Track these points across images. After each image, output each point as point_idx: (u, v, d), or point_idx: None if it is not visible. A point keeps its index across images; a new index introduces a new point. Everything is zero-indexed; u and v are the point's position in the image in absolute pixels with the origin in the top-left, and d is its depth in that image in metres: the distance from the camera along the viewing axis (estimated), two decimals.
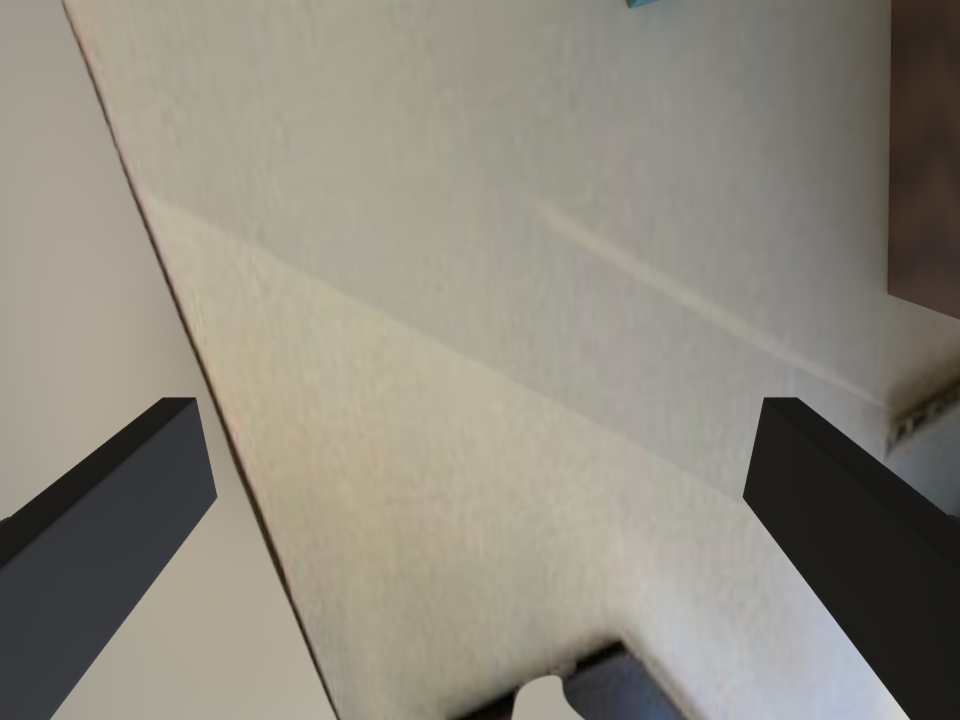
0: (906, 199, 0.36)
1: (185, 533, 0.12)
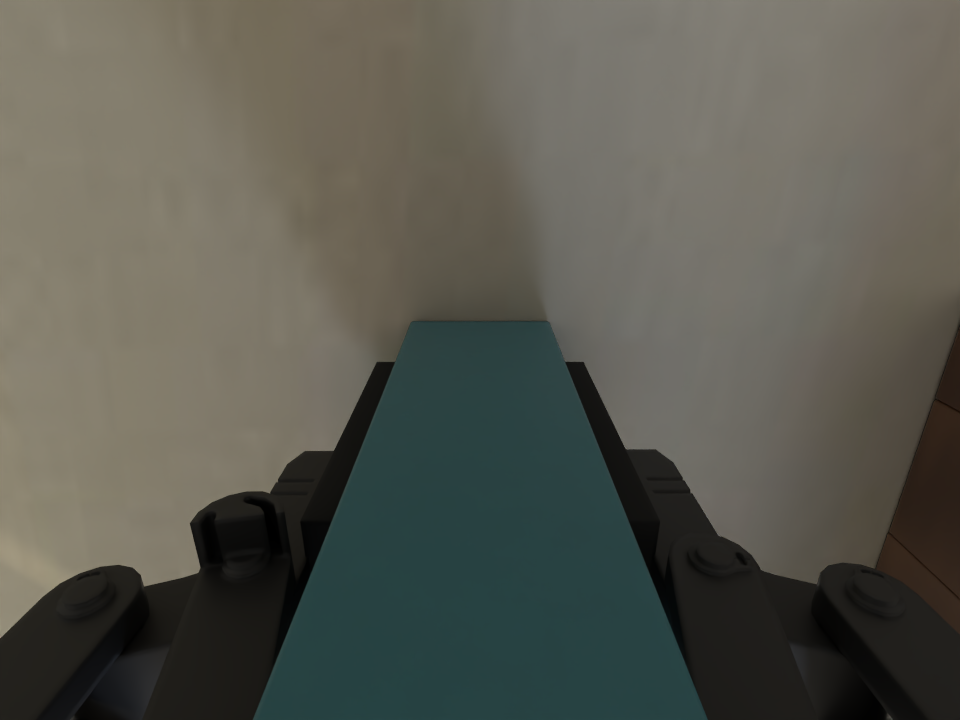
0: None
1: None
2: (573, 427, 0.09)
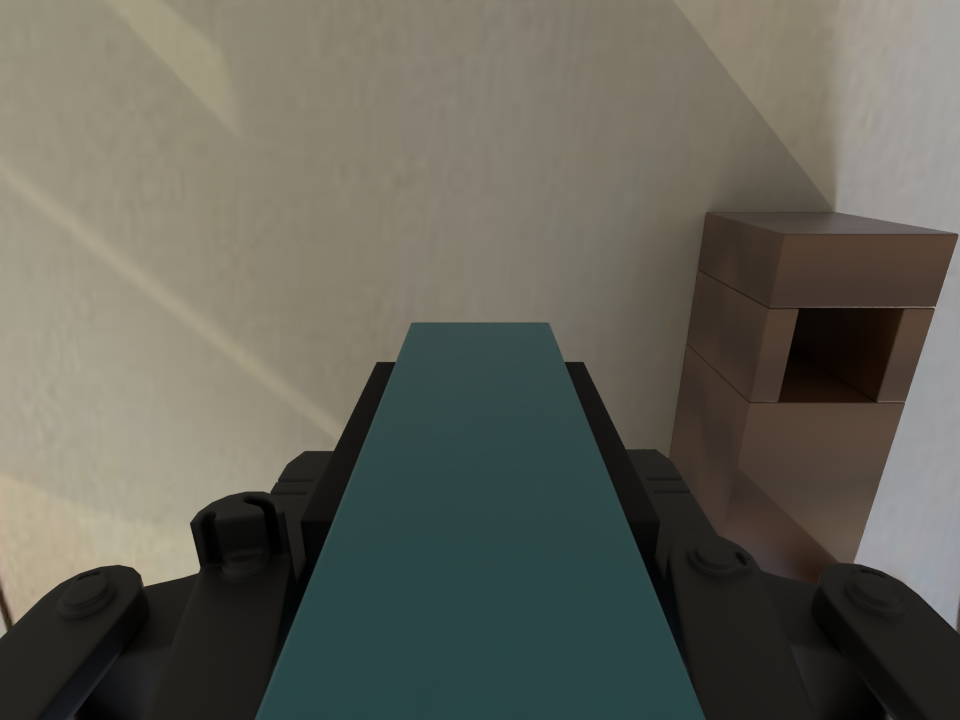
0: None
1: None
2: (573, 429, 0.10)
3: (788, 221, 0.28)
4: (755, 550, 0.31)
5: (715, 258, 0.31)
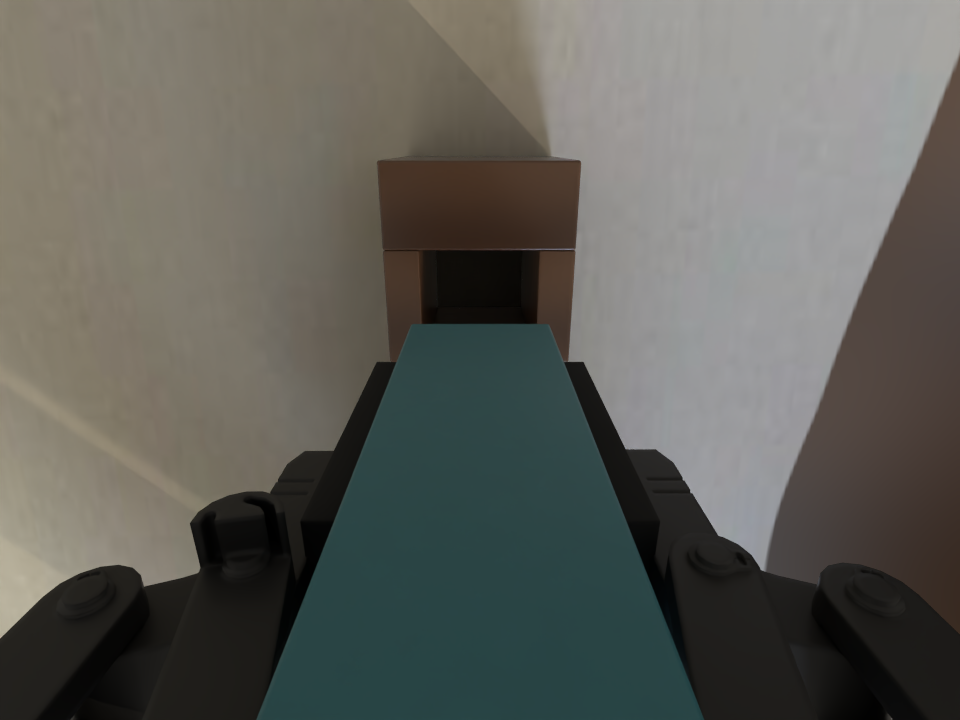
0: None
1: None
2: (573, 431, 0.10)
3: None
4: None
5: None
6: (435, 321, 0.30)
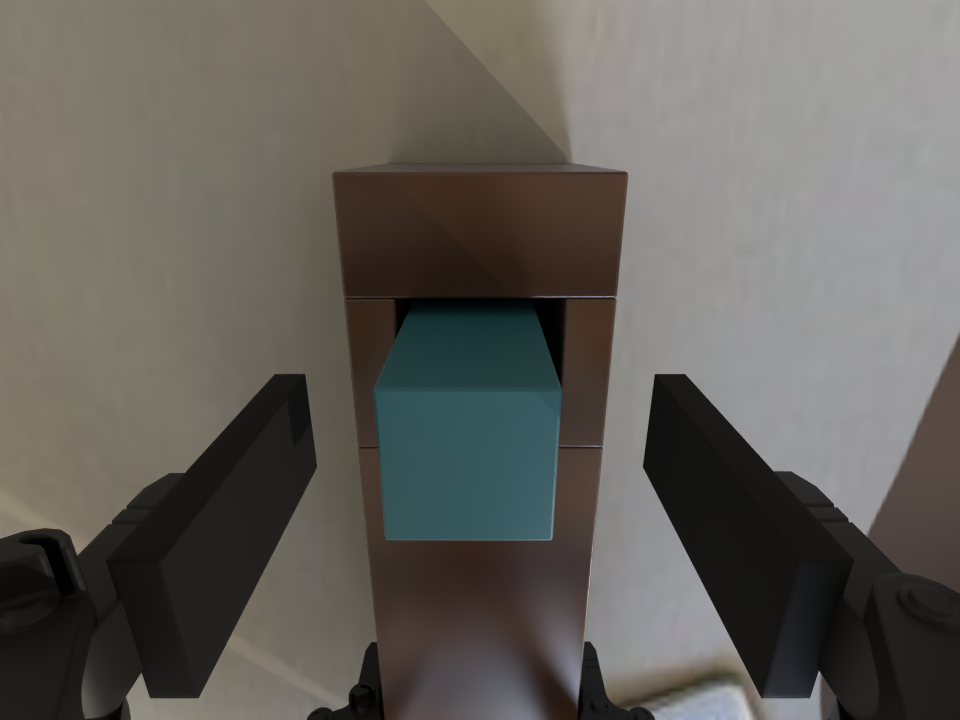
0: None
1: (299, 496, 0.13)
2: None
3: (440, 166, 0.19)
4: (431, 658, 0.21)
5: None
6: None
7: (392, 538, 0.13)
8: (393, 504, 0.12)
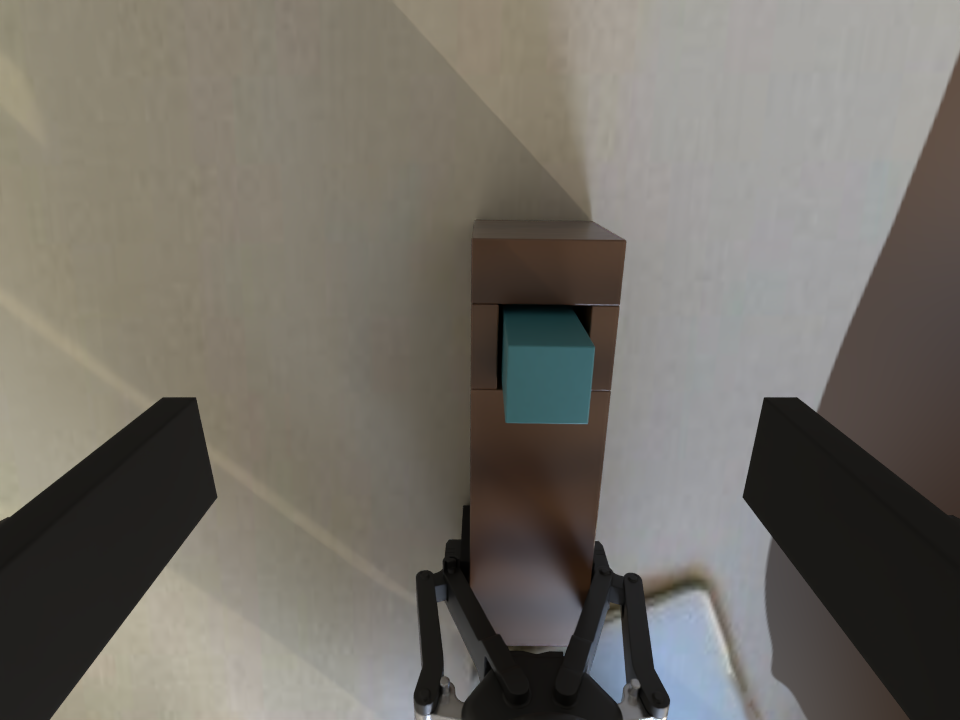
0: None
1: (185, 533, 0.12)
2: None
3: (517, 228, 0.32)
4: (502, 526, 0.34)
5: None
6: None
7: (509, 422, 0.26)
8: (511, 403, 0.25)
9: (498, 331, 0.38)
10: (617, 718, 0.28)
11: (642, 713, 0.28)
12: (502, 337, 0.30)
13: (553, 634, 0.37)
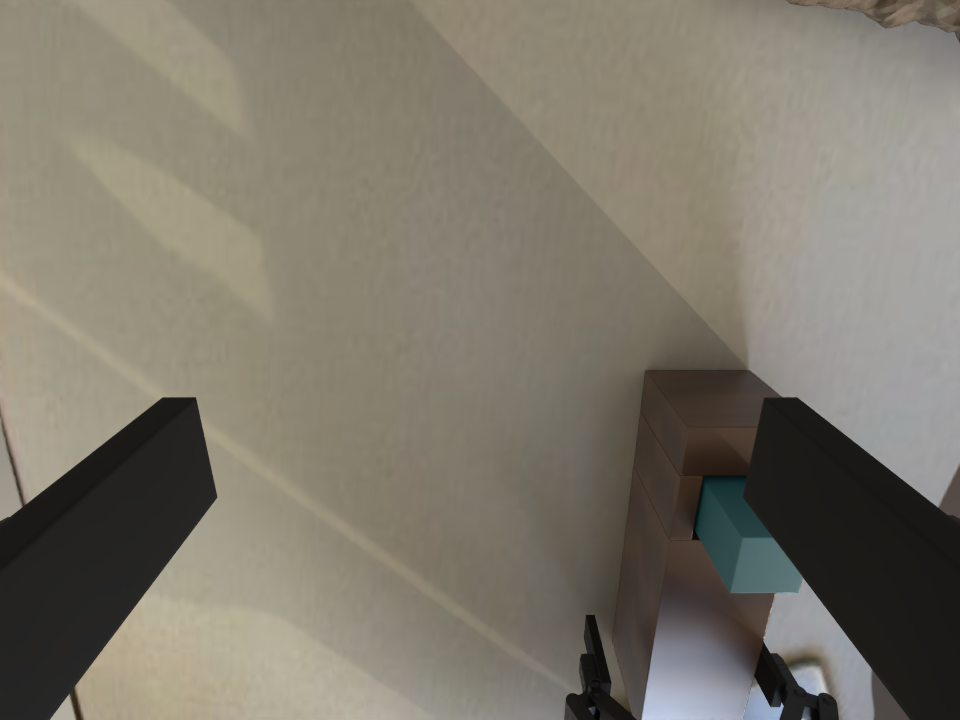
0: (623, 596, 0.47)
1: (185, 533, 0.12)
2: None
3: (702, 395, 0.37)
4: (681, 645, 0.39)
5: (650, 411, 0.40)
6: None
7: (733, 592, 0.31)
8: (737, 579, 0.30)
9: None
10: None
11: None
12: None
13: None
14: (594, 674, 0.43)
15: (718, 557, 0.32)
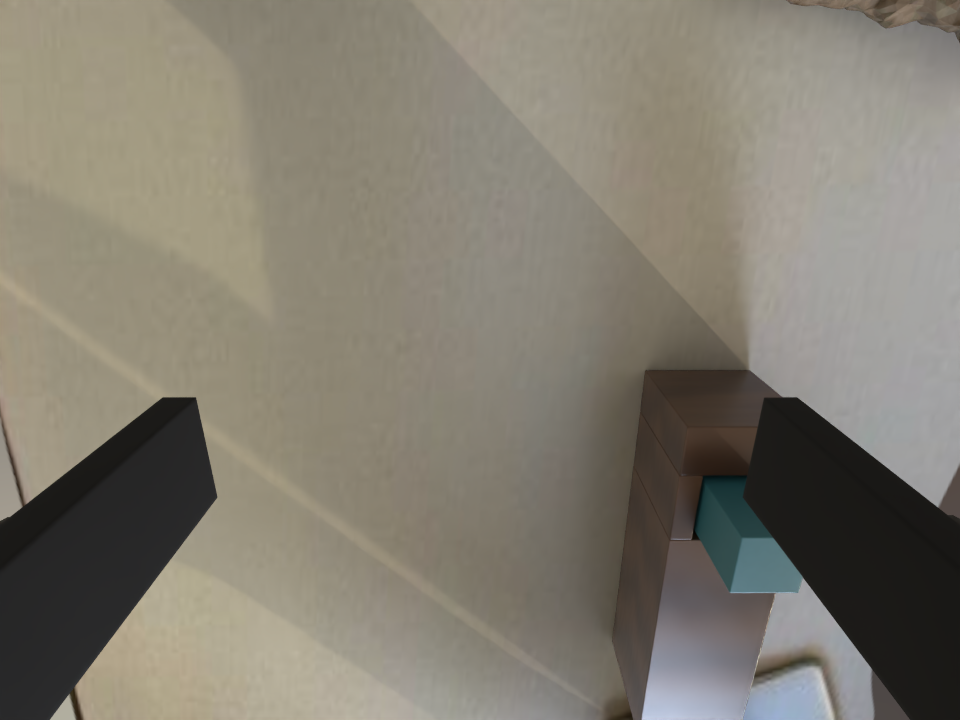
0: (623, 596, 0.47)
1: (185, 533, 0.12)
2: None
3: (702, 395, 0.37)
4: (681, 645, 0.39)
5: (650, 411, 0.40)
6: None
7: (733, 592, 0.31)
8: (737, 579, 0.30)
9: None
10: None
11: None
12: None
13: None
14: None
15: (718, 557, 0.32)
